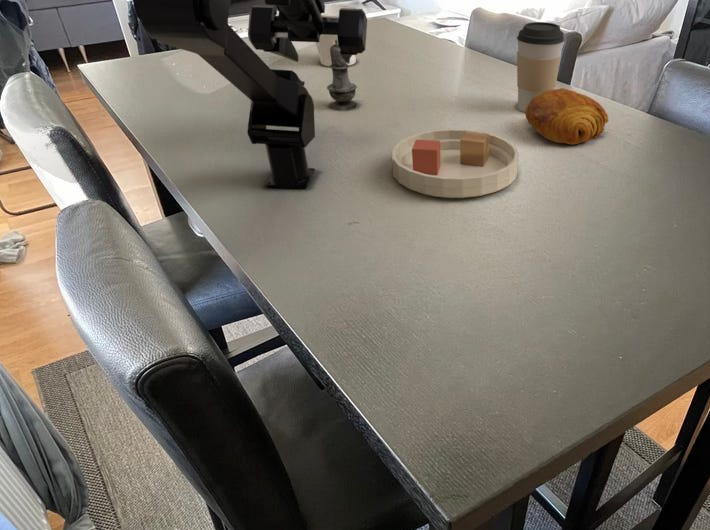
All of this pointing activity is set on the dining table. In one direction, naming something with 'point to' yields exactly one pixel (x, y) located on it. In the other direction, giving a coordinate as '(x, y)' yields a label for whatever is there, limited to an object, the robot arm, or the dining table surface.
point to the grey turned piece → (340, 82)
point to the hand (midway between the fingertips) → (322, 59)
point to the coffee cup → (537, 60)
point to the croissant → (566, 116)
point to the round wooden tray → (456, 166)
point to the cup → (329, 40)
